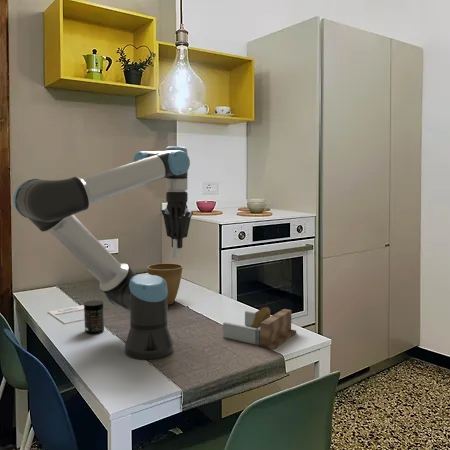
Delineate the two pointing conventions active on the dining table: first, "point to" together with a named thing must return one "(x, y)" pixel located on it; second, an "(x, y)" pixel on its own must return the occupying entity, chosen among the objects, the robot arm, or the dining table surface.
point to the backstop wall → (276, 329)
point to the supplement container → (94, 316)
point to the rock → (260, 317)
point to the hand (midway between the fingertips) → (177, 256)
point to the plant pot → (168, 277)
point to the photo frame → (66, 310)
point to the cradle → (243, 330)
